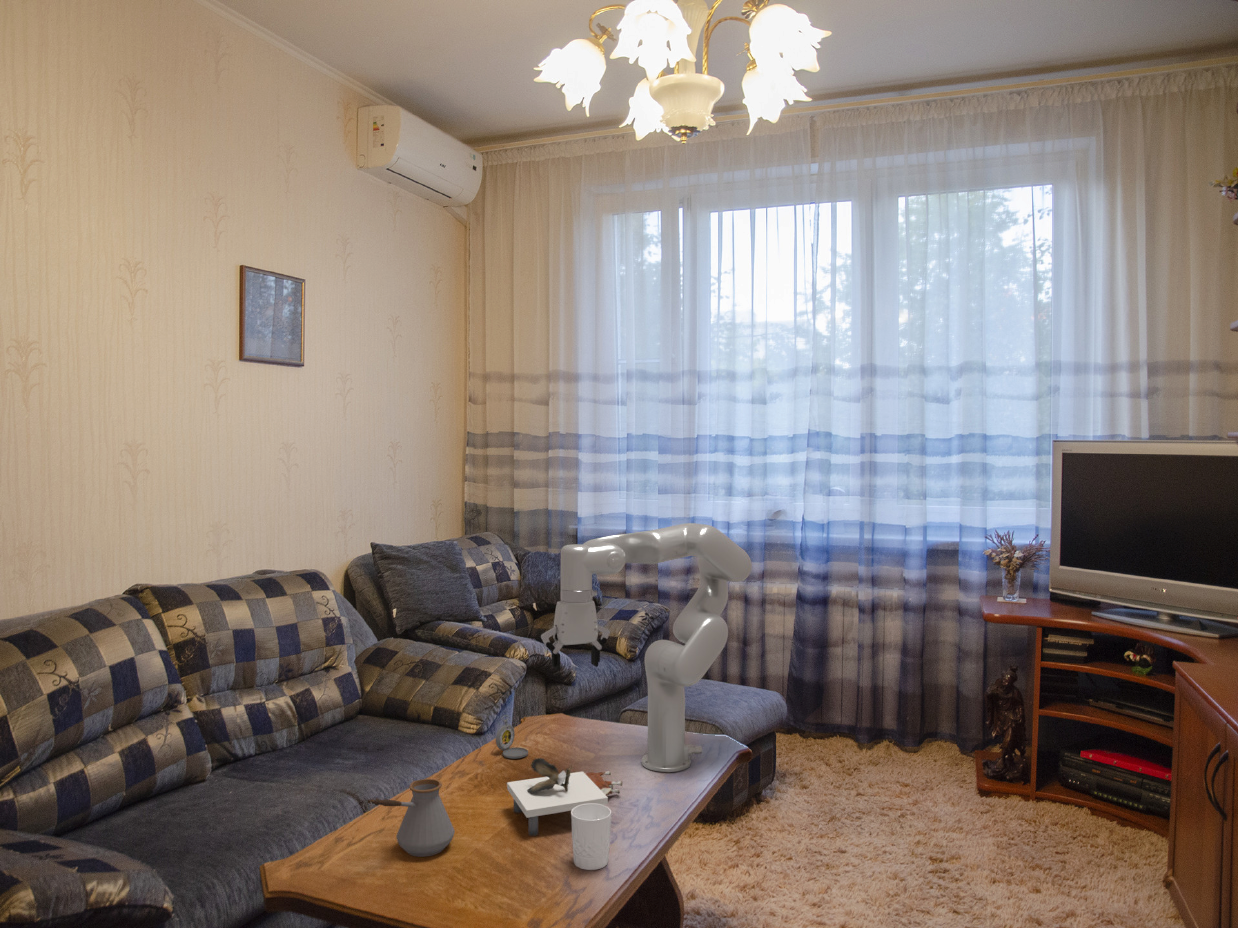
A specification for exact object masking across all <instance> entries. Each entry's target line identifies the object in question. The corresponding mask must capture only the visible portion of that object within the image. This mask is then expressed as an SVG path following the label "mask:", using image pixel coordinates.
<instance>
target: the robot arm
mask: <svg viewBox="0 0 1238 928" xmlns="http://www.w3.org/2000/svg"><path fill="white" fill-rule="evenodd" d="M686 557H697V559H698V560H697V561H698V562H697V565H698V571H699V586H698V587H697V588H698V589H697V590H696V591H695V593H694V594H693V596H692V597H691V599H690V600H689V602H688V603H687V604H686V606H684V607H683V609H682V611H681V612H680V613H679V615H678V616H677V617H676V619H675V620H674V623H673V625H672V632H673V636H674V637H675V638H676V640H678V641H679V642H681V643H683V644H684V645H682V644H681V643H678V642H675V641H672V640H668V639H659V640H656V641H653V642H652V643H651V644H649V646H648V647H647V649H646V651H645V654H644V670H645V674H646V680H647V753H645V754H644V755H643V756H642V757H641V766H643V767H644V768H646V769H647V770H651V771H654V772H658V773H659V772H662V773H674V772H676V773H677V772H681V771H683V770H686V769H688V768H689V767H690V766H691V763H692V761H691V760H692V759H691V758H690V757H691V756H692V755H698V754H702V753H703V748H702V746H701V745H696V746H693V744H685V741H686V739H685V738H686V737H685V736H686V733H685V731H686V730H685V729H686V718H685V717H686V694H685V691H686V690H685V688H687V687H691V686H693V685H695V684H697V683H698V682H699V681H700V680H701V679H702V678H703V677H704V676H705V674H706V673H707V672H708V670H709V669H710V668H711V666H712V665H713V663H714V662H715V660H716V659H717V658H718V657H719V656H720V654H721V652H722V651H723V650H724V648H725V646H726V644H727V641H728V637H729V627H728V624H727V621H725V619H724V618H722V617H721V614H722V613H723V612H724V609H725V608H726V606H727V604H728V600H729V587H728V582H731V583H740V582H743V581H745V580H746V579H747V578H748V577H749V576H750V574H751V572H752V569H753V568H752V567H753V566H752V565H753V564H752V560H751V558H750V556H749V554H748V553H747V552H746V551H745V550H744V549H743V548H742V547H740V546H739V545H738V544H737V543H736V542H734V541H733V540H732V539H730V537H728V536H727V535H726V534H725V533H724V532H722V531H721V530H719V529H718V528H716V527H715V526H712V525H709V524H703V523H702V524H701V523H694V522H693V523H692V522H688V523H680V524H675V525H671V526H666V527H661V528H658V529H657V528H656V529H651V530H645V531H635V532H630V533H622V534H614V535H613V534H612V535H607V536H602V537H598V538H594V539H593V538H592V539H590V540H587V541H585V542H583V544H581V543H579V544H578V543H577V544H575V543H574V544H567V545H564V546H563V547H561V550H560V601H557V602H556V606H555V611H554V619H553V627H552V628H550V629H548V630H546V631H545V632H543V633H542V634H541V635H540V638H541V641H542V642H543V644H544V646H545V647H546V648H547V649H548V650H550V652H551V666H552V667H553V669H554V670H556V671H560V670H561V654H560V650H561V649H562V648H563V647H564V646H571V645H573V646H574V645H582V644H585V645H586V644H591V645H592V647H591V649H590V663H591V665H592V666H594V667H596V668H597V667H599V663H600V660H601V650H602V649H603V646H604V645H605V644H606V643H607V642H608V638H609V636H610V634H611V630H610V629H608V628H606V627H604V626H602V625H600V624H598V616H597V610H596V604H595V601H594V600H593V597H597V596H598V591H597V590H595V589H593V574H595V575H610V576H611V575H615V574H617V573H619V572H620V571H622V569H623V568H624V567H625V565H626V564H641V565H655V564H660V563H665V562H669V561H673V560H679V559H683V558H686ZM599 632H600V633H602V634H601V636H600V637H599V639H598V636H599ZM551 637H553V640H554V642H553V643H551V641H550V638H551Z"/></svg>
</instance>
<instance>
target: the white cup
mask: <svg viewBox="0 0 1238 928" xmlns="http://www.w3.org/2000/svg"><path fill="white" fill-rule="evenodd" d="M570 818H571V819H570V820H571V822H570V823H571V839H572V840H571V841H572V851H573V863H574V865H575V867H577V868H579V869H581V870H586V871H596V870H600V869H603V868H605V867H606V866H607V865H608V863H609V852H610V851H609V850H610V842H611V828H612V827H611V826H612V825H611V824H612V809H611V808H610V807H609V806H608V805H601V804H595V803H588V804H582V805H578V806H576V807H574V808H573V809H572V810H571V811H570Z"/></svg>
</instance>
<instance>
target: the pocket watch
mask: <svg viewBox="0 0 1238 928" xmlns="http://www.w3.org/2000/svg"><path fill="white" fill-rule="evenodd" d="M504 717H507V718H505V719H503V718H504ZM509 717H510V716H509V715H506V714H505V715H502V717H501V721H502V722H504V724H503V725H501V726H500V727H499V729H498V731H497V733H496V737H495V744H496V746H497V748H498V749H499V750H501V751H503V752H502V756H503V757H504V758H507V759H512V760H515V759H516V760H517V759H521V758H525V757H527V756H528V755H529V750H528V749H526V748H524V747H511V746H512V745H513V742H514V739H515V734H516V733H515V728H514V726H513V725H512V724H509V723H508V720H509Z"/></svg>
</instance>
